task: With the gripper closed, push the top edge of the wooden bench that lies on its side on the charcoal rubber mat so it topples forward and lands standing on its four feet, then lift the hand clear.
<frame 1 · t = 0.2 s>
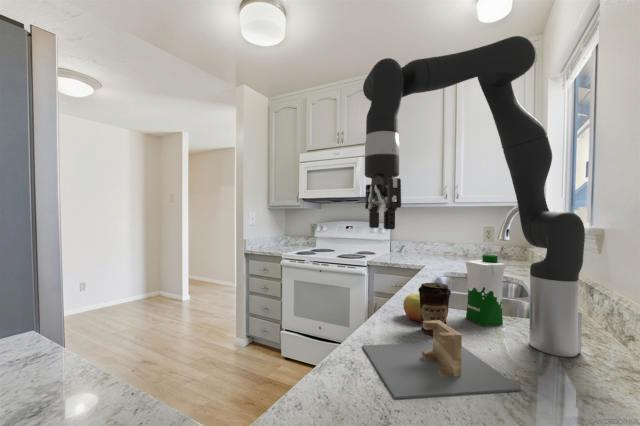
hand: (381, 228, 65), 29 cm above the worktop, fingers open, 8 cm apart
apple: (420, 320, 90), on the worktop
milk carton: (483, 321, 90), on the worktop
wooden bench: (431, 347, 61), point 4 cm above the worktop, touching mat
coffee cup: (433, 333, 80), on the worktop
mat: (431, 365, 62), on the worktop
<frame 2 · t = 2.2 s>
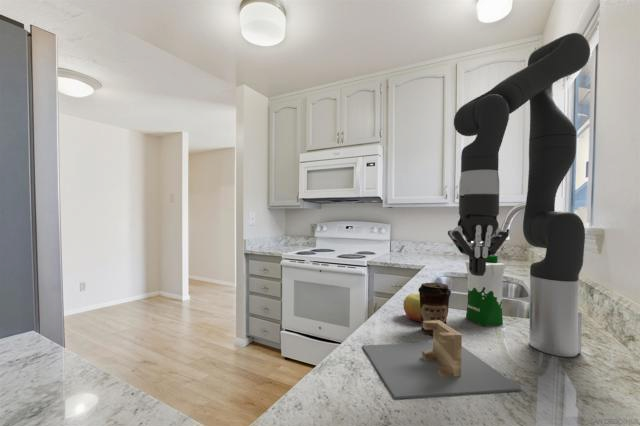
hand: (477, 275, 62), 19 cm above the worktop, fingers closed
nothing on the worktop moved.
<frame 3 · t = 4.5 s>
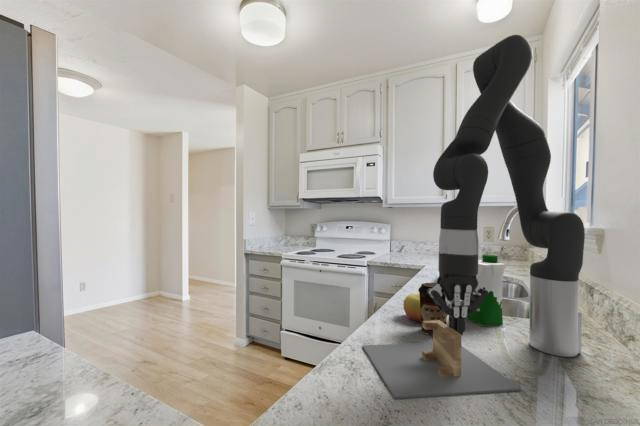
hand: (456, 333, 61), 7 cm above the worktop, fingers closed
wooden bench: (431, 347, 61), point 4 cm above the worktop, touching gripper, mat
everything else where it was.
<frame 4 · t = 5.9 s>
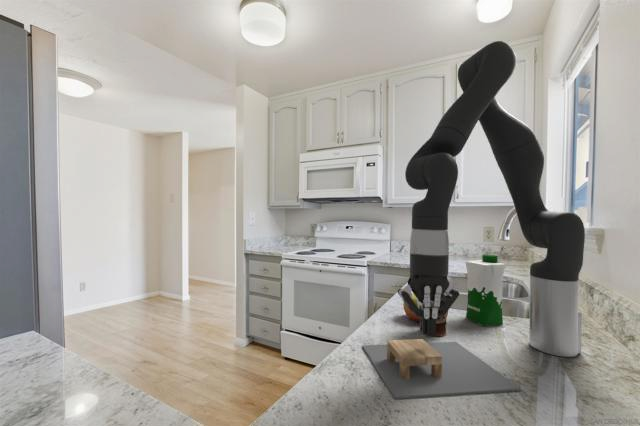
hand: (427, 335, 61), 7 cm above the worktop, fingers closed
wooden bench: (412, 367, 60), resting on mat, tilted 90°
everything else where it was.
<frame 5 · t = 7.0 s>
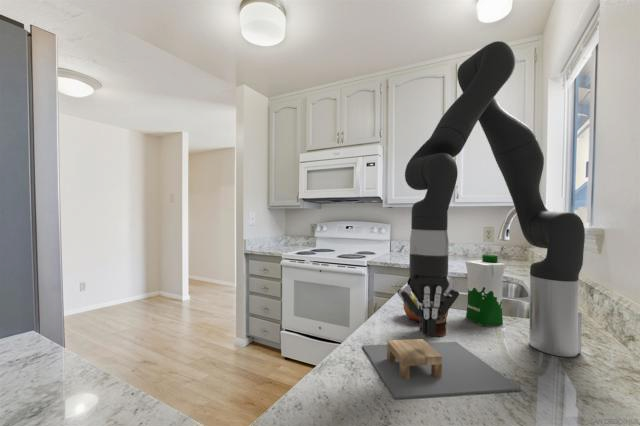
hand: (427, 335, 61), 7 cm above the worktop, fingers closed
nothing on the worktop moved.
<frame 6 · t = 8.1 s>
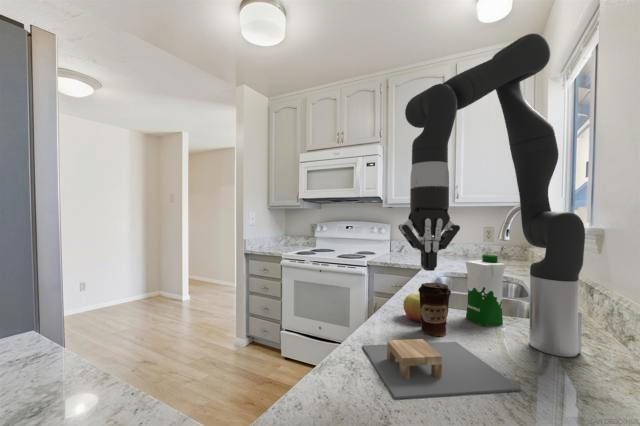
hand: (428, 269, 61), 20 cm above the worktop, fingers closed
nothing on the worktop moved.
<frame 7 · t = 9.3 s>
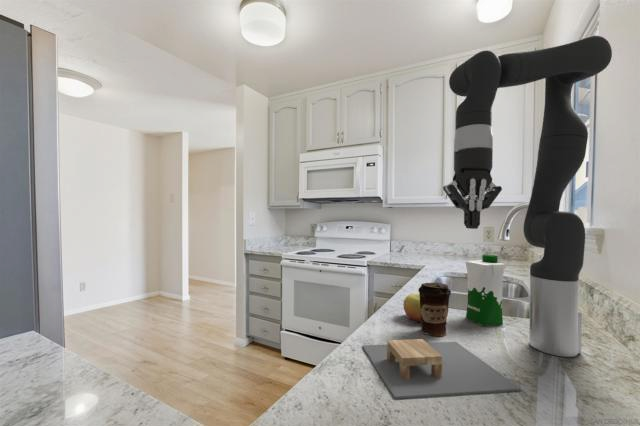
hand: (471, 228, 64), 29 cm above the worktop, fingers closed
nothing on the worktop moved.
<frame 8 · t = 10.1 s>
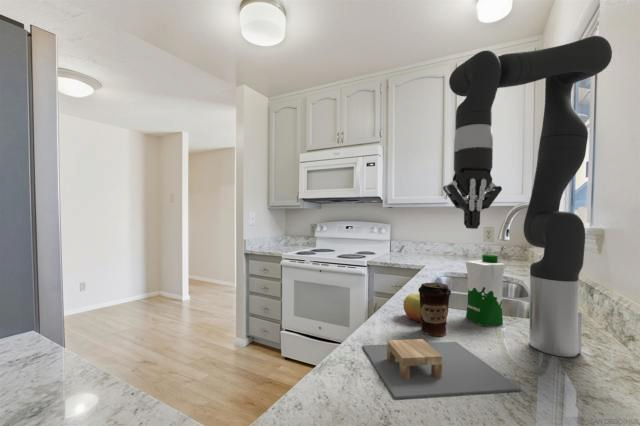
hand: (471, 228, 64), 29 cm above the worktop, fingers closed
nothing on the worktop moved.
at the end: wooden bench inside the target area (2.0 cm from its centre), resting on mat; wooden bench tilted 90° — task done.
